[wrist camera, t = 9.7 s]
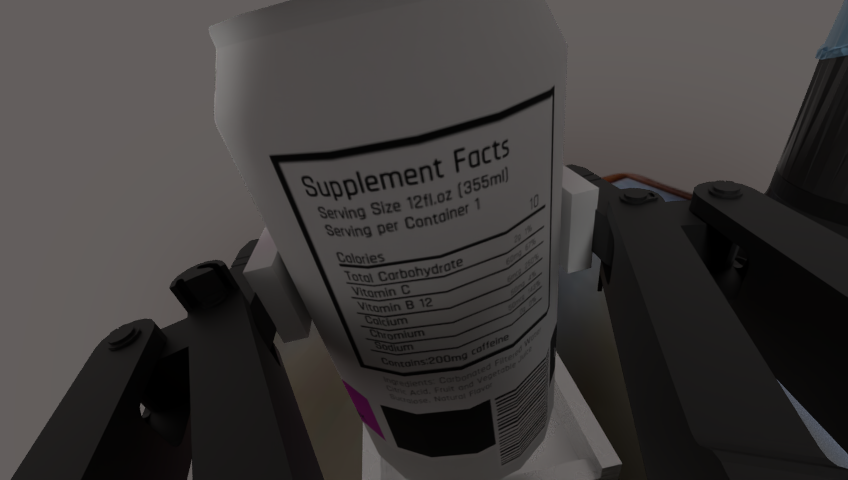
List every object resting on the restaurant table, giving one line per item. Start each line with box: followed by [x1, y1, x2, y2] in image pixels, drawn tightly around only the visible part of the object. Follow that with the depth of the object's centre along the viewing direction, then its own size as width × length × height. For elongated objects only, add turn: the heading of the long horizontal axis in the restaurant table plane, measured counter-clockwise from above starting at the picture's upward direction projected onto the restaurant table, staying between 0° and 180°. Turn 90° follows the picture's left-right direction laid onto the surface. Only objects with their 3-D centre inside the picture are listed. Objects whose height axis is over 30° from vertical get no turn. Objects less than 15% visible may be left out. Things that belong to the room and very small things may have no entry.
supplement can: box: [209, 0, 568, 480], centre depth 12 cm, size 8×8×15 cm
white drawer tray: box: [362, 352, 622, 480], centre depth 26 cm, size 22×13×8 cm, turn 8°
